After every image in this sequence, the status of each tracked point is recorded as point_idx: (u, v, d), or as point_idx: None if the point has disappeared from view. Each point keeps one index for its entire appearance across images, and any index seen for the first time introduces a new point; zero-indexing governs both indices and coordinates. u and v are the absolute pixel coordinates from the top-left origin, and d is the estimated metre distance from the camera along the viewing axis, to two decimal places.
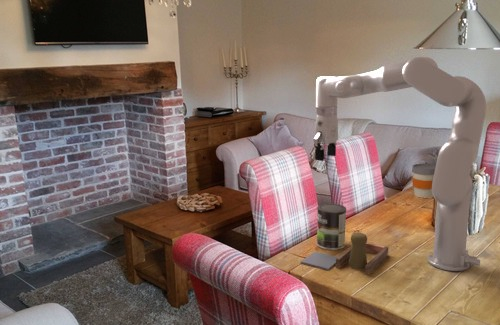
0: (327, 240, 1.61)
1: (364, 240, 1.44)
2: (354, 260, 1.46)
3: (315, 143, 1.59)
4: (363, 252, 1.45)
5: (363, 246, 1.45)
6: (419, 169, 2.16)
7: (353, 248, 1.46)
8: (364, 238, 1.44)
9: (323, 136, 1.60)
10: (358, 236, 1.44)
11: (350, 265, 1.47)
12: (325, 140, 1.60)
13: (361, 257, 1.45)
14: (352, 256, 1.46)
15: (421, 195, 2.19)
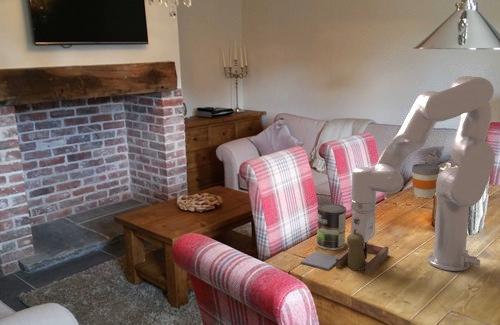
0: (327, 240, 1.61)
1: (360, 242, 1.42)
2: (352, 261, 1.45)
3: None
4: (360, 253, 1.44)
5: (360, 247, 1.43)
6: (419, 169, 2.16)
7: (350, 250, 1.44)
8: (360, 240, 1.42)
9: None
10: (354, 238, 1.42)
11: (349, 266, 1.46)
12: None
13: (359, 258, 1.44)
14: (350, 257, 1.45)
15: (421, 195, 2.19)
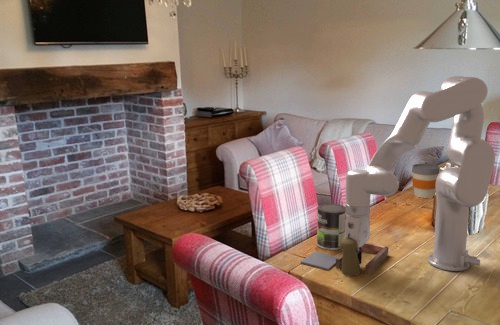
0: (327, 240, 1.61)
1: (354, 247, 1.38)
2: (345, 266, 1.41)
3: None
4: (354, 258, 1.40)
5: (354, 252, 1.40)
6: (419, 169, 2.16)
7: (344, 254, 1.41)
8: (354, 244, 1.38)
9: None
10: (348, 243, 1.39)
11: (342, 271, 1.43)
12: None
13: (353, 263, 1.40)
14: (343, 262, 1.42)
15: (421, 195, 2.19)
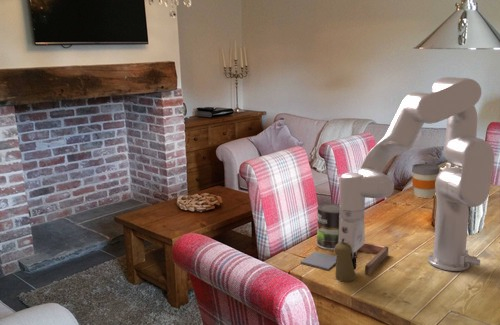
0: (327, 240, 1.61)
1: (348, 252, 1.35)
2: (340, 272, 1.38)
3: None
4: (349, 263, 1.36)
5: (348, 257, 1.36)
6: (419, 169, 2.16)
7: (338, 260, 1.37)
8: (348, 250, 1.35)
9: None
10: (342, 248, 1.35)
11: (337, 277, 1.39)
12: None
13: (347, 268, 1.37)
14: (338, 268, 1.38)
15: (421, 195, 2.19)
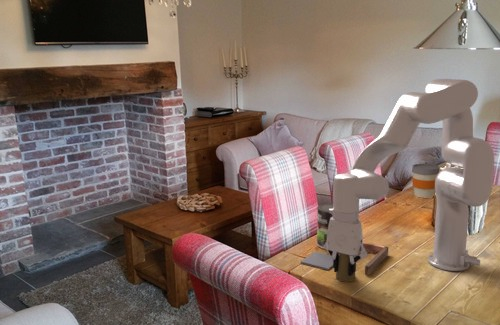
0: None
1: None
2: (340, 271, 1.38)
3: None
4: None
5: None
6: (419, 169, 2.16)
7: (340, 258, 1.38)
8: None
9: None
10: None
11: (337, 276, 1.39)
12: (326, 244, 1.38)
13: (348, 268, 1.37)
14: (339, 267, 1.38)
15: (421, 195, 2.19)
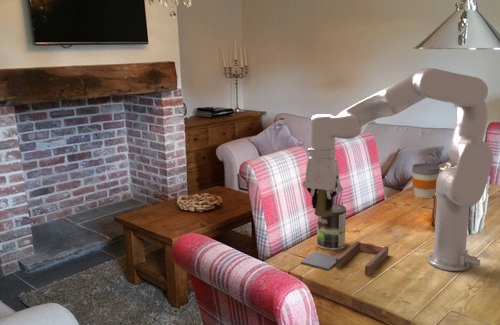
0: (327, 240, 1.61)
1: None
2: (318, 207, 1.47)
3: None
4: None
5: None
6: (419, 169, 2.16)
7: (318, 195, 1.47)
8: None
9: None
10: None
11: (315, 213, 1.48)
12: (305, 182, 1.47)
13: None
14: (317, 203, 1.48)
15: (421, 195, 2.19)
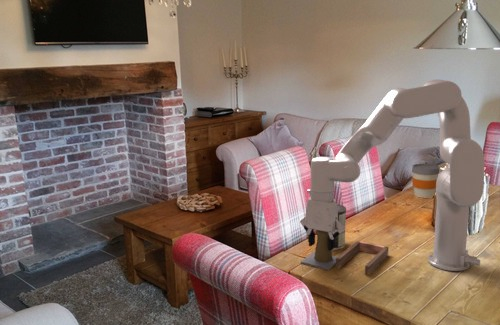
0: None
1: (328, 234, 1.48)
2: (318, 253, 1.50)
3: None
4: (327, 245, 1.49)
5: (327, 239, 1.49)
6: (419, 169, 2.16)
7: (318, 241, 1.50)
8: None
9: None
10: None
11: (315, 257, 1.52)
12: (305, 222, 1.50)
13: (325, 250, 1.49)
14: (317, 249, 1.51)
15: (421, 195, 2.19)
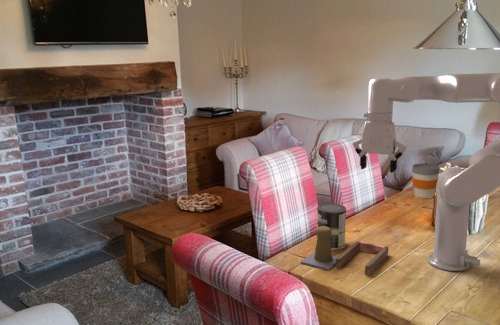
0: None
1: (328, 234, 1.48)
2: (318, 253, 1.50)
3: None
4: (327, 245, 1.49)
5: (327, 239, 1.49)
6: (419, 169, 2.16)
7: (318, 241, 1.50)
8: (328, 232, 1.48)
9: None
10: (322, 229, 1.49)
11: (315, 258, 1.52)
12: (361, 147, 1.48)
13: (325, 250, 1.49)
14: (317, 249, 1.51)
15: (421, 195, 2.19)
